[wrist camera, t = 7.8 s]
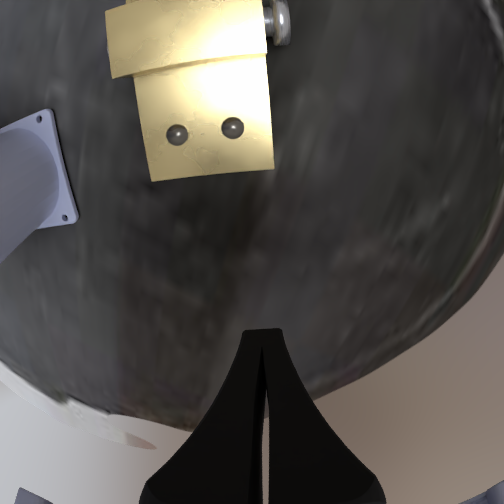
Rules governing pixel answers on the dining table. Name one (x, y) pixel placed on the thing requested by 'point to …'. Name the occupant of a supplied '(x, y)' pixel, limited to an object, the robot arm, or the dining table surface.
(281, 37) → the hinge pin
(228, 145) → the hinge leaves
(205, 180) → the dining table surface
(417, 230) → the dining table surface
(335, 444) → the robot arm
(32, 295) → the dining table surface
